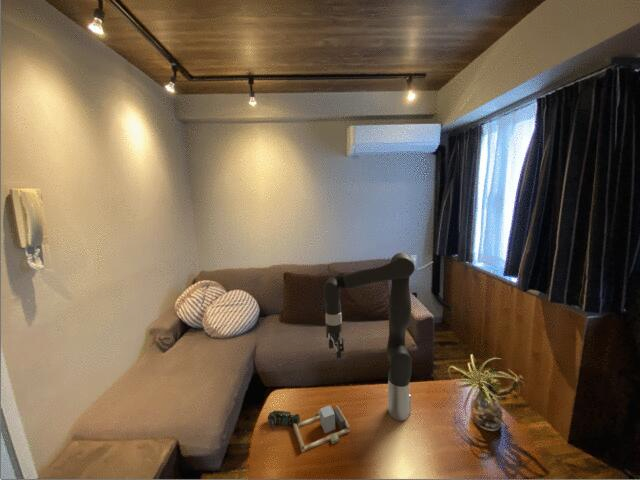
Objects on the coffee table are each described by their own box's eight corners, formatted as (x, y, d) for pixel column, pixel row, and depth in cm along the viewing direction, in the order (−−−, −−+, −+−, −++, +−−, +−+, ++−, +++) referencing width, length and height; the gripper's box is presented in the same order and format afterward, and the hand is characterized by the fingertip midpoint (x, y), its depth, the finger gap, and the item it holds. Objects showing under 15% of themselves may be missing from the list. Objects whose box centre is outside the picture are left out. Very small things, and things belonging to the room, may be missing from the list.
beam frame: (336, 406, 123) (335, 399, 123) (352, 435, 108) (352, 427, 108) (292, 423, 115) (291, 415, 115) (303, 456, 100) (303, 448, 100)
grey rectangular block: (330, 420, 116) (330, 405, 115) (335, 429, 111) (334, 413, 110) (320, 424, 114) (319, 408, 113) (324, 433, 110) (324, 417, 108)
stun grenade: (300, 421, 117) (270, 418, 119) (299, 408, 116) (270, 406, 118) (296, 432, 111) (266, 429, 113) (296, 419, 110) (265, 416, 112)
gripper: (348, 325, 112) (349, 359, 114) (334, 312, 125) (335, 343, 127) (332, 329, 109) (334, 363, 112) (320, 316, 122) (321, 346, 125)
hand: (335, 352), depth 119 cm, fingers open, 8 cm apart
